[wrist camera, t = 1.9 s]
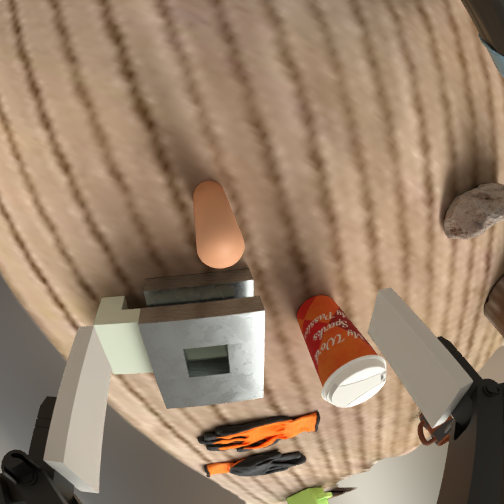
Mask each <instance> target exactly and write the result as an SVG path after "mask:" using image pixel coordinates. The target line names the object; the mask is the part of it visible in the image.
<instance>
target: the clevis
mask: <svg viewBox="0 0 504 504" xmlns="http://www.w3.org/2000/svg"><path fill="white" fill-rule="evenodd" d="M143 292H144V296H145V301H146V305H147V308H140V314H139V321H138V326H139V329H140V333H141V336H142V339H143V342H144V345H145V349H146V352H147V355H148V358H149V361H150V364H151V367H152V370H153V373H154V375H155V378H156V381H157V384H158V387H159V389H160V392H161V395H162V397H163V400H164V403H165V405H166V408H167V409H169V408H183V407H194V406H204V405H213V404H222V403H230V402H237V401H244V400H250V399H257V398H263V385H264V333H265V310H264V307H263V304H262V302H261V299H260V296H254V290H253V278H252V275H251V272H250V270H249V269H240V270H230V271H221V272H212V273H202V274H192V275H183V276H173V277H163V278H152V279H145V285H144V290H143ZM219 345H226V350H227V357H224V358H216V359H207V360H198V361H188V357H187V353H186V349H191V348H201V347H210V346H219Z"/></svg>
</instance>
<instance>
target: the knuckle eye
mask: <svg viewBox="0 0 504 504" xmlns="http://www.w3.org/2000/svg"><path fill="white" fill-rule="evenodd" d="M139 314H140V308H139V309H128V306H127V302H126V299H125V296H115V297H103V298H102V299H101V302H100V305H99V308H98V311H97V314H96V317H95V320H94V323H93V326H94V327H95V330H96V332H97V335H98V337H99V340H100V342H101V345H102V347H103V349H104V352H105V354H106V356H107V359H108V361H109V363H110V365H111V368H112V372H113V374H133V373H151V372H153V370H152V367H151V364H150V361H149V358H148V355H147V352H146V349H145V345H144V342H143V339H142V336H141V333H140V329H139V326H138V321H139ZM186 353H187V357H188V361H198V360H207V359H216V358H224V357H227V350H226V345H219V346H210V347H201V348H191V349H186Z"/></svg>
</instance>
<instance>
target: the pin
mask: <svg viewBox="0 0 504 504" xmlns="http://www.w3.org/2000/svg"><path fill="white" fill-rule="evenodd" d="M193 202H194V218H195V232H196V245H197V253H198V256H199V258H200V259H201V261H202V262H203V263H205V264H206V265H208V266H210V267H213V268H226V267H229V266H232V265H233V264H235V263H236V262H237V261H238V260H239V259H240V258H241V256H242V254H243V252H244V246H245V245H244V239H243V237H242V234H241V232H240V230H239V227H238V225H237V222H236V220H235V217H234V215H233V212H232V210H231V207H230V205H229V202H228V200H227V197H226V195H225V192H224V190H223V188H222V186H221V185H220V184H218V183H217V182H215V181H204V182H202V183H200V184H199V185H198V186H197V187H196V188H195V190H194V193H193Z"/></svg>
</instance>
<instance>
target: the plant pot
mask: <svg viewBox="0 0 504 504" xmlns="http://www.w3.org/2000/svg"><path fill="white" fill-rule="evenodd" d="M484 314H485V316H486V317H487V318H488V320H489V321H490V322H491V323H492V324H493V325H494V327H495V328H496V329H497V330H498V331H499V333H500V334H501V335H502V336H503V338H504V276H503V277H502V278H501V279H500V280H499V281H498V282H497V283H496V285H495V286H494V288H493V289H492V291H491V293H490V295H489V300H488V302H487V303H486V304H485V308H484Z"/></svg>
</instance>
